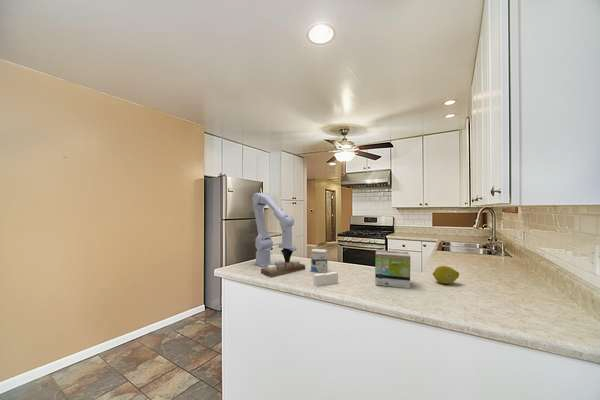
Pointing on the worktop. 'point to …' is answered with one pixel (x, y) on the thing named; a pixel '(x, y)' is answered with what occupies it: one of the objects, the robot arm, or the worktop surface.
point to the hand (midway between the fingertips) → (287, 262)
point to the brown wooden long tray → (282, 270)
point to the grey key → (280, 264)
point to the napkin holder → (325, 278)
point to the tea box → (392, 268)
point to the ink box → (319, 260)
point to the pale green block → (295, 262)
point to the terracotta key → (288, 264)
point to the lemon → (445, 274)
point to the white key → (271, 267)
